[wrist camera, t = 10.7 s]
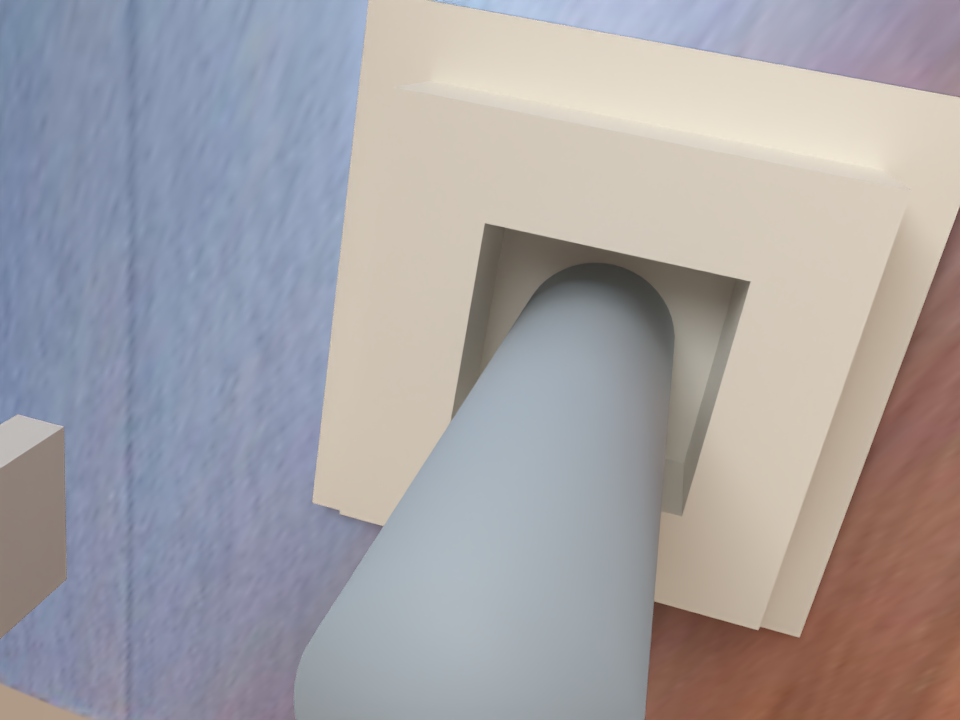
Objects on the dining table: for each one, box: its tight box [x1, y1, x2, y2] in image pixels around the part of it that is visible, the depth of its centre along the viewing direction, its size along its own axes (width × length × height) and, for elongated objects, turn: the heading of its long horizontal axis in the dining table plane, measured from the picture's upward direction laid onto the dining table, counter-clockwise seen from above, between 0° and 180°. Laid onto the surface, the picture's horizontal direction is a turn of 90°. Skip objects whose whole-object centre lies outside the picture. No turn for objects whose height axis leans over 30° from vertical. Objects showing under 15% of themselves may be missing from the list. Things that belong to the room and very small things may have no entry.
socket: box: [312, 0, 960, 638], centre depth 25 cm, size 16×16×4 cm
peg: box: [294, 263, 675, 720], centre depth 18 cm, size 4×4×16 cm
